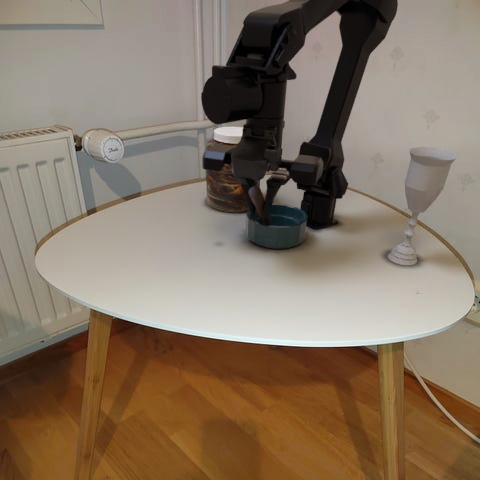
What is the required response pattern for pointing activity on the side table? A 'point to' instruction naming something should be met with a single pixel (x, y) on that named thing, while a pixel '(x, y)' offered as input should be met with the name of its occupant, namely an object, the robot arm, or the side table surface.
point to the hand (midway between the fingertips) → (259, 214)
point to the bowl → (278, 227)
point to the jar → (225, 176)
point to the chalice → (421, 192)
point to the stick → (260, 205)
